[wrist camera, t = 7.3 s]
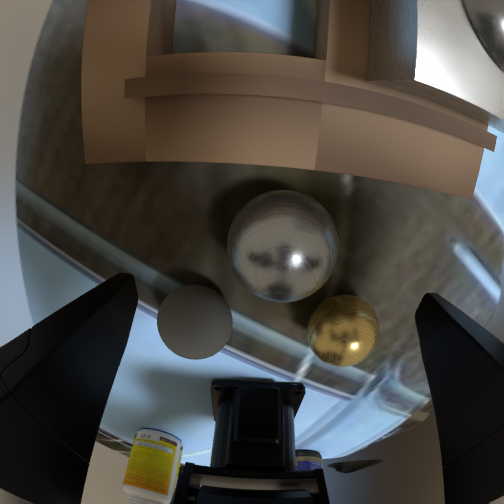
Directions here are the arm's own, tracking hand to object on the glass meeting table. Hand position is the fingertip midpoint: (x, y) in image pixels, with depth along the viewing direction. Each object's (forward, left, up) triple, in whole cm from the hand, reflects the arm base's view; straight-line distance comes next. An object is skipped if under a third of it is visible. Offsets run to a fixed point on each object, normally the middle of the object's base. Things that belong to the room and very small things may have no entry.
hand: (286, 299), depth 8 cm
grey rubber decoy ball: (-4, +3, -3) cm, 6 cm away
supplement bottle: (-27, +10, -5) cm, 29 cm away
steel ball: (0, 0, -3) cm, 3 cm away
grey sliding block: (+9, -5, -2) cm, 11 cm away
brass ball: (-4, -4, -3) cm, 6 cm away
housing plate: (+9, 0, -5) cm, 10 cm away
